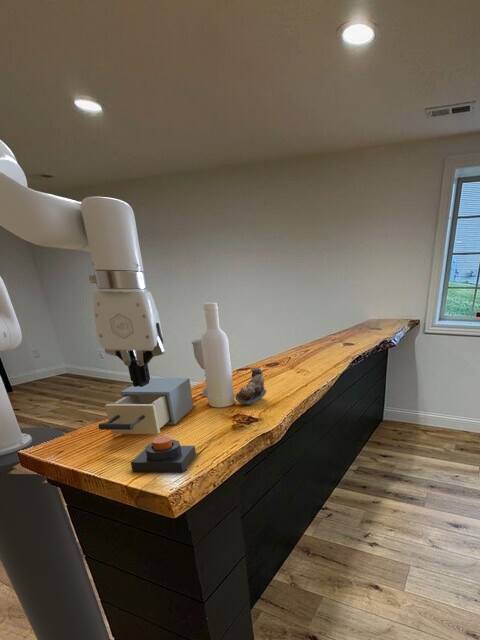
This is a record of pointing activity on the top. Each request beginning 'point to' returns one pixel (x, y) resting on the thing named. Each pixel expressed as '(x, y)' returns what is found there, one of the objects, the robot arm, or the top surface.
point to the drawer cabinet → (175, 391)
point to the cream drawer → (137, 414)
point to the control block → (164, 458)
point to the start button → (162, 443)
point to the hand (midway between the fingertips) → (141, 384)
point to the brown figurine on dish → (252, 389)
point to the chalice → (199, 359)
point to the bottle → (216, 360)
